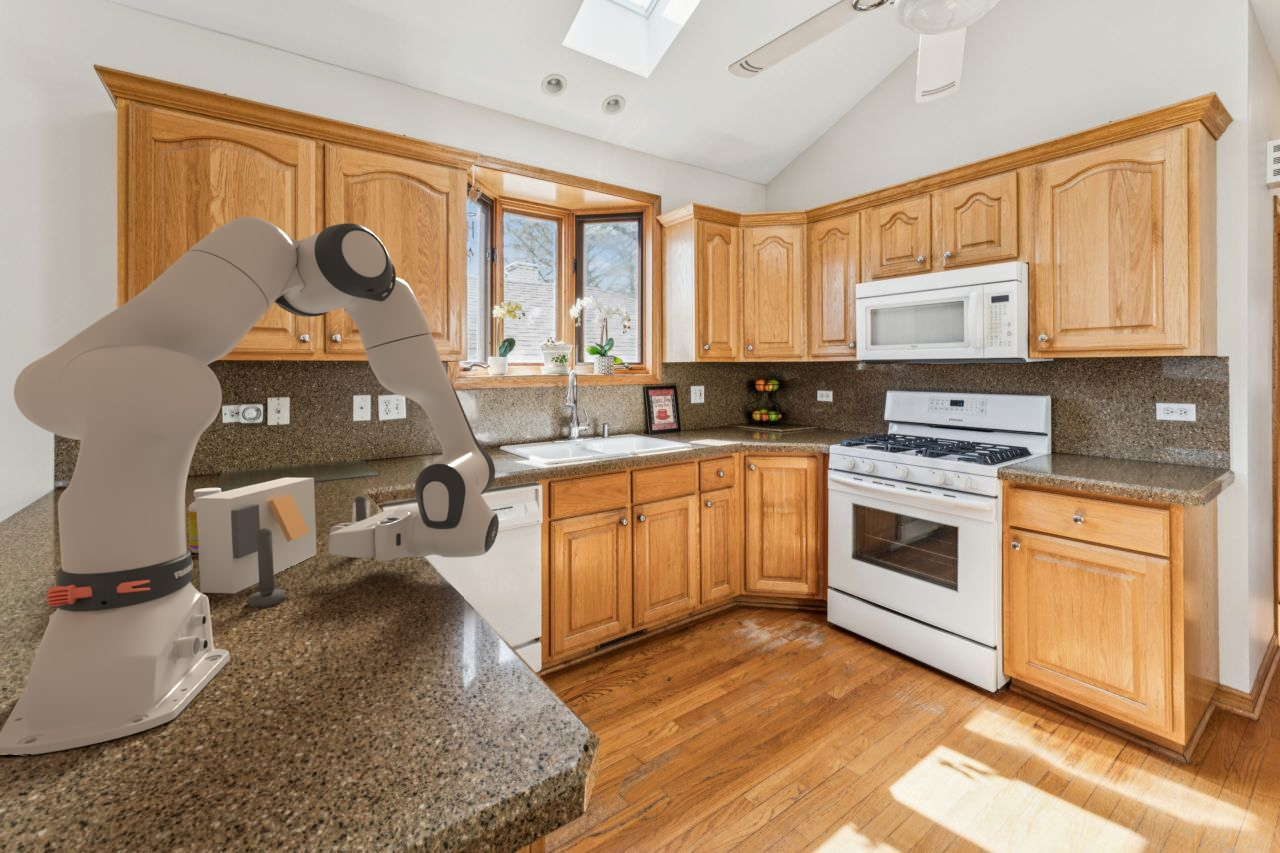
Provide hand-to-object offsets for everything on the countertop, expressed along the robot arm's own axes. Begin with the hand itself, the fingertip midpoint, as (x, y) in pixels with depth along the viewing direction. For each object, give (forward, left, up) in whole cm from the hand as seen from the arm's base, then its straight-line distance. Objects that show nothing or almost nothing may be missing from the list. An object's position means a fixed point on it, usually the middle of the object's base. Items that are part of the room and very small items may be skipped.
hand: (335, 529), depth 107 cm
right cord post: (+14, -4, -8) cm, 17 cm away
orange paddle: (+4, +6, -2) cm, 7 cm away
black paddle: (-2, +13, -2) cm, 14 cm away
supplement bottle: (+30, +25, -9) cm, 39 cm away
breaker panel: (+7, +12, -8) cm, 16 cm away
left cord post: (-10, +10, -8) cm, 17 cm away
